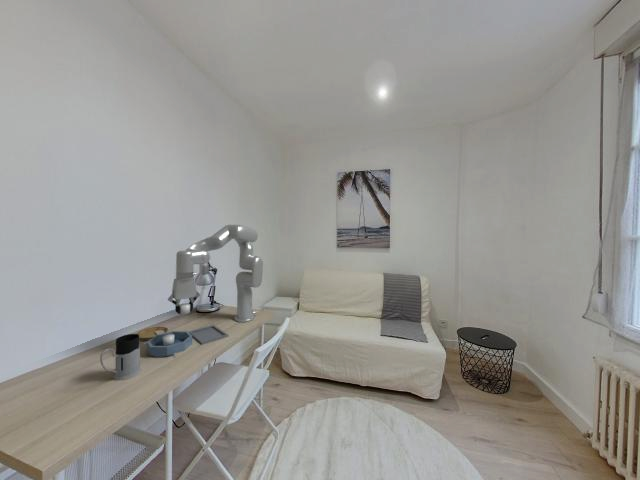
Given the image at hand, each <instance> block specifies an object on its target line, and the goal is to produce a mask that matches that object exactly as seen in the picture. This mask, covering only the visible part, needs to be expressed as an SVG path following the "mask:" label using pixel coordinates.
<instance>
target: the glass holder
mask: <svg viewBox="0 0 640 480" xmlns="http://www.w3.org/2000/svg"><path fill="white" fill-rule="evenodd" d="M107 351H111V355H112V357H113V358H115V359H114V360H115V370H113V369H108V368H107V367H106V366H105V365H104V361H103V356H104V354H105V353H106V352H107ZM99 359H100V365H101V367H102V368H103V369H104V370H106V371H109V372H111V373H114V374H115V375H114V377H113V379H115V381H126V380H130V379H132V378H135V377H136V376H138V375H139V374H141V372H142V369H141V345H140V339H139V335H138V334H136V333H128V334H124V335H121V336H119V337H117V338H116V339H115V351H114V349H112V348H106V349H105V350H103V351H102V352H101V354H100V357H99Z"/></svg>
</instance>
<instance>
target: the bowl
mask: <svg viewBox="0 0 640 480" xmlns="http://www.w3.org/2000/svg"><path fill="white" fill-rule="evenodd" d="M168 334H173V335H174V344H173V345H170V346H163V336H165V335H168ZM191 345H193V336H192V335H191V334H190V333H189V331H186V330H183V331H182V330H181V331H180V330H172V331H167V332H166V333H165V332H163V333H161V334H157V335H156V336H155V337H153V338H152V339H150V340H146V350H147V352H148V355H149V356H151V357H153V358H167V357H172V356H175V354H177V353H180V352H184V351H186V350H187V349H188V348H189V347H190V346H191Z"/></svg>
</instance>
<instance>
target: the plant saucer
mask: <svg viewBox="0 0 640 480" xmlns="http://www.w3.org/2000/svg"><path fill="white" fill-rule="evenodd" d="M168 330H169V329H168V327H166V326H153V327H148V328H147V327H146V328H144V329H141V330H140V331H138V332H136V333H135V334H138V335H139V340H140V341H149V340H150V339H152V338H153V337H155V336H156V335H158V334H157V332H158V331H163V332H164V333H167V332H169V331H168Z"/></svg>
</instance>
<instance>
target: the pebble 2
mask: <svg viewBox="0 0 640 480" xmlns="http://www.w3.org/2000/svg"><path fill="white" fill-rule="evenodd" d="M179 305H180V314H179V315H188V314H190V313H191V311H190V304H189V302H188V303H187V302H186V303H179Z"/></svg>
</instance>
